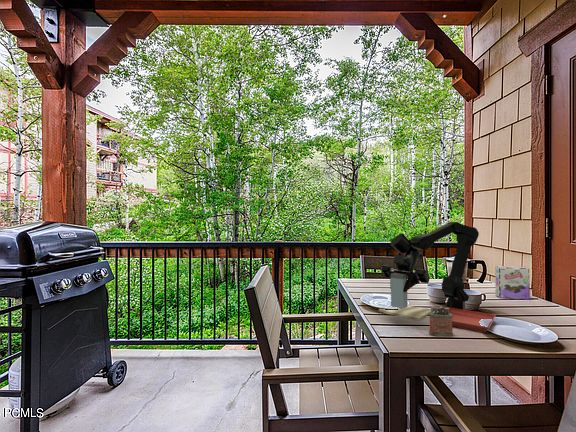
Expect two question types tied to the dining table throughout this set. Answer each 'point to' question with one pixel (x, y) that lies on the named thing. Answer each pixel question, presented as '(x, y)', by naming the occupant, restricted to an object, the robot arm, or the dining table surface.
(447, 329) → the reddish brown box
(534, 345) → the dining table surface
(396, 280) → the slate block
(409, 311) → the birch board
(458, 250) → the robot arm
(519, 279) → the candy box
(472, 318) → the red flat slab
